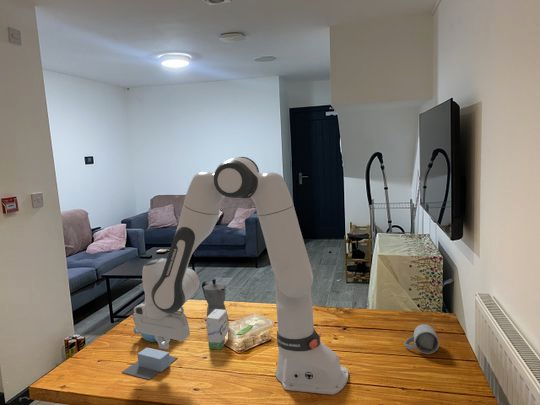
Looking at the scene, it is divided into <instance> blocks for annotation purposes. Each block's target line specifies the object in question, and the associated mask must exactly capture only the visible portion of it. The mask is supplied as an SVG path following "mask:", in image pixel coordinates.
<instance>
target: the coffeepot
mask: <svg viewBox="0 0 540 405" xmlns="http://www.w3.org/2000/svg"><path fill="white" fill-rule="evenodd" d="M226 287H227V285H226V284H225V283H224V282H217V279H215V278H213V279H211V283H210V282H208V281H203V282H202V283H201V289H202V292H203V295H204V299H205V300H206V303H207V310H206V318H207V317H208V315H210V314H211V313H212V312H213V311H214V310H215V309H221V310H227V308H226V305H225V301H226V289H227V288H226ZM227 319H228V320H229V315H228V314H227Z"/></svg>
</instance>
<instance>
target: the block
mask: <svg viewBox="0 0 540 405" xmlns="http://www.w3.org/2000/svg"><path fill="white" fill-rule="evenodd" d="M170 356H171V355H170V352H169V351H165V350H164V351H163V350H160V349H155V348H150V347H145V348H144V349H143V350H141V351H139V352H138V353H137V361H138V364H139V366H140V367H144V368H148V369H152V370H156V371H160V372H159V373H162V372H164V370H166V369H168V368H169V367H170V366H171V364H172V363H171V364H170Z"/></svg>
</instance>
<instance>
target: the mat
mask: <svg viewBox="0 0 540 405" xmlns="http://www.w3.org/2000/svg"><path fill="white" fill-rule="evenodd" d="M177 360H178V357H176V356H171V355H170V364H172V363H174V362H175V361H177ZM159 373H161V372H160V371H156V370H152V369H148V368H144V367H140V366H139V364H138V360H137V361H135V363H133V364H131V365H130V366H128V367H127V368H126V369H124V370H123V371H121V374H126V375H128V376H133V377H136V378H137V377H138V378H141V379H143V380H147V381H151V379H153V378H154V377H155V376H157V375H158V374H159Z"/></svg>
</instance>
